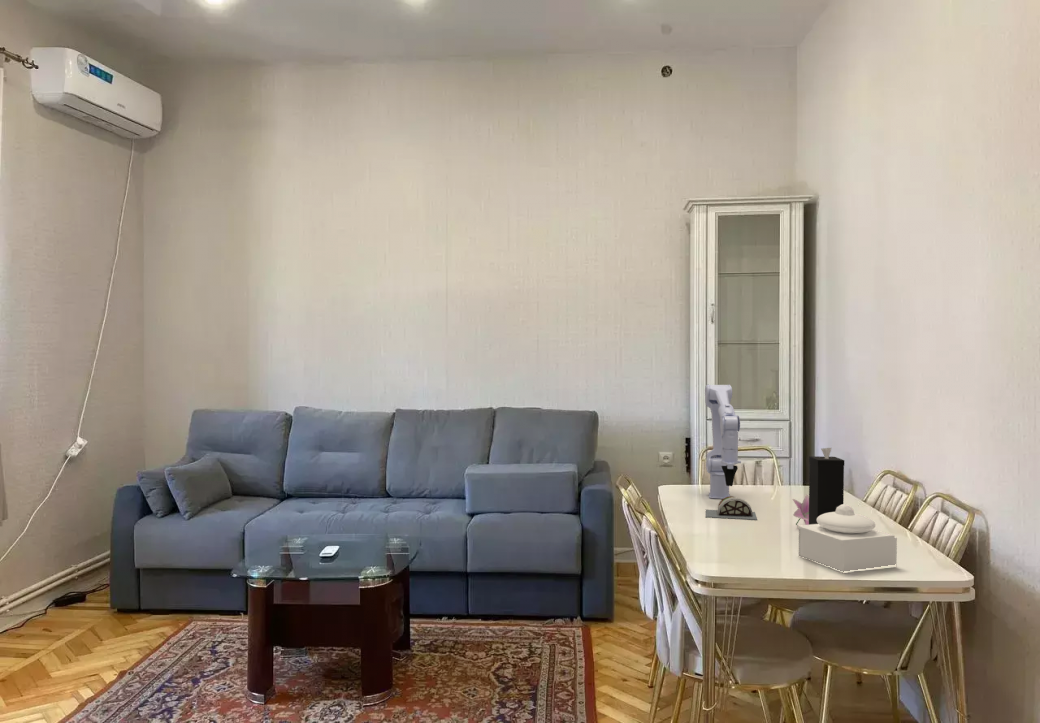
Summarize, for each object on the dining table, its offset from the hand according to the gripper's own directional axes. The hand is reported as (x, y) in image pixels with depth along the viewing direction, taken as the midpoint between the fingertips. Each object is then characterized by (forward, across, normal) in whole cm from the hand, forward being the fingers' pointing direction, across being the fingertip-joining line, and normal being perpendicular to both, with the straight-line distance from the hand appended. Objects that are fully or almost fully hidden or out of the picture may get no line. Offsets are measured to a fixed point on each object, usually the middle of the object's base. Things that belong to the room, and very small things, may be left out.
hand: (729, 485), depth 283 cm
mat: (+8, -14, 0) cm, 16 cm away
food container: (+4, -7, 0) cm, 8 cm away
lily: (+8, -27, -23) cm, 37 cm away
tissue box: (+8, -42, -27) cm, 50 cm away
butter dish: (+8, -67, -28) cm, 73 cm away
